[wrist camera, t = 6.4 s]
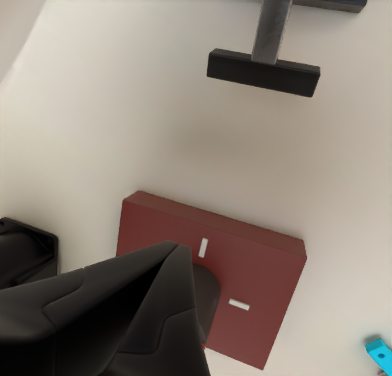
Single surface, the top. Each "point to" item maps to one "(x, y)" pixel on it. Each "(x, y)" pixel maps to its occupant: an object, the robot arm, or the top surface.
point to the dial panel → (224, 268)
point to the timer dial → (205, 299)
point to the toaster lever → (266, 58)
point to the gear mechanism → (381, 356)
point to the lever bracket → (334, 4)
